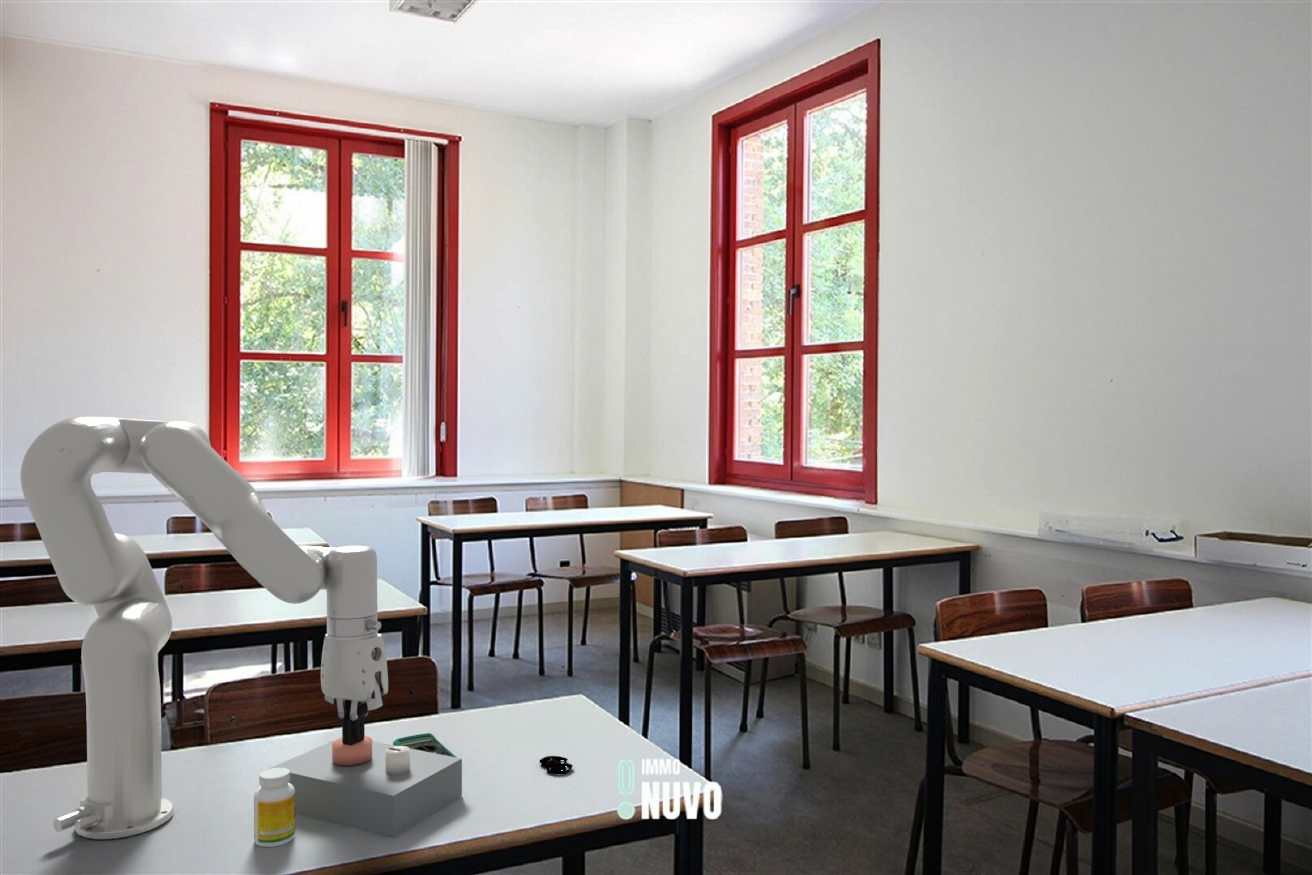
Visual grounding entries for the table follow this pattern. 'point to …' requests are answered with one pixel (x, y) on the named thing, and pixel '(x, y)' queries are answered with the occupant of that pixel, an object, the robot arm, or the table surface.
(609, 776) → the table surface
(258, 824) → the supplement bottle
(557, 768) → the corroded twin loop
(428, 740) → the digital multimeter
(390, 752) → the knob
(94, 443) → the robot arm
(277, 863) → the table surface
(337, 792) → the box
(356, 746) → the button
